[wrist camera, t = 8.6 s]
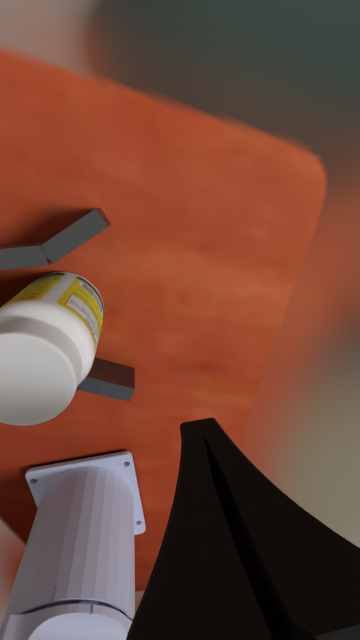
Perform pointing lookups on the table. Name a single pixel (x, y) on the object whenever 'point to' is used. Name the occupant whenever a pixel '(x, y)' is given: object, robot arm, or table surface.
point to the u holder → (39, 253)
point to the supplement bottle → (47, 346)
